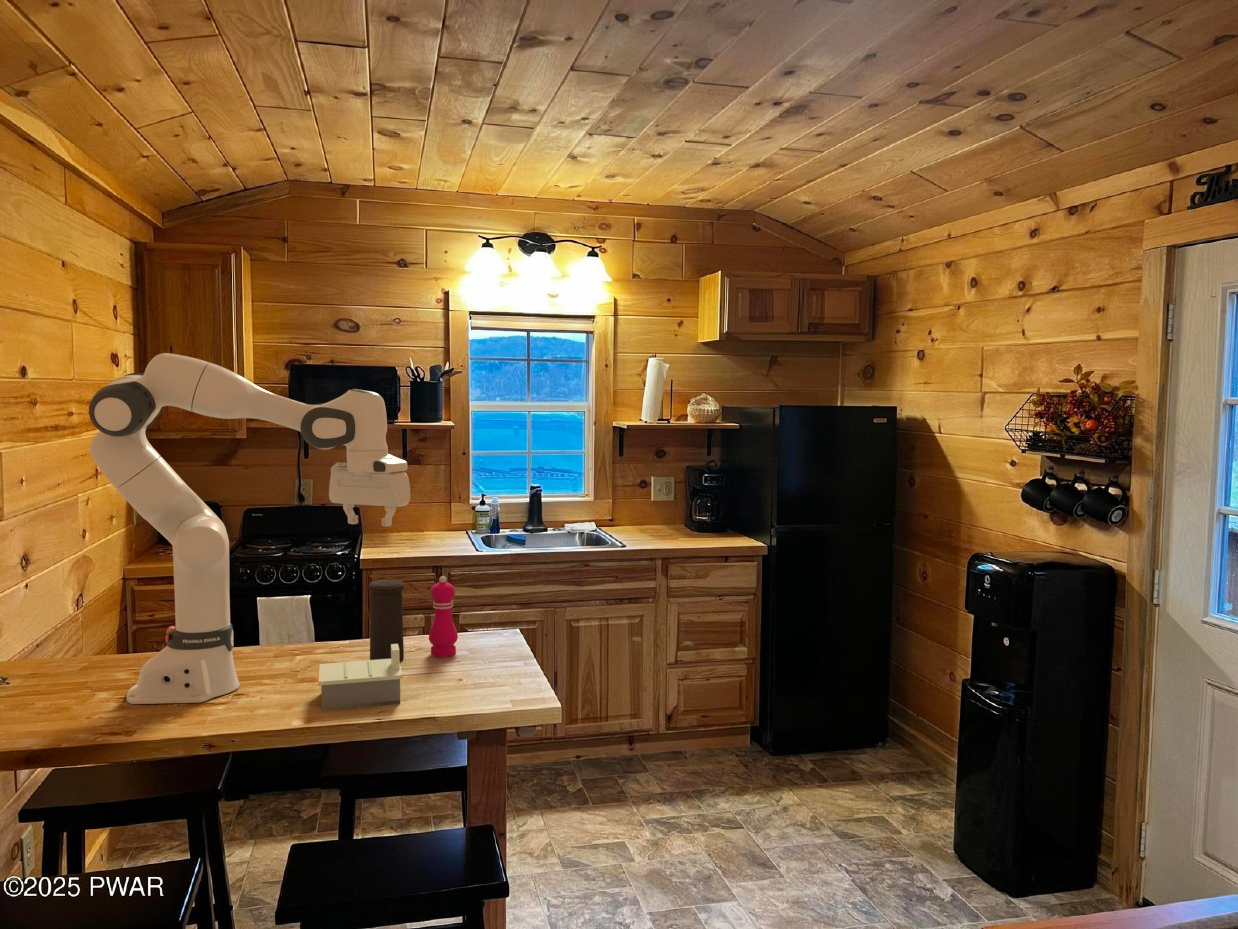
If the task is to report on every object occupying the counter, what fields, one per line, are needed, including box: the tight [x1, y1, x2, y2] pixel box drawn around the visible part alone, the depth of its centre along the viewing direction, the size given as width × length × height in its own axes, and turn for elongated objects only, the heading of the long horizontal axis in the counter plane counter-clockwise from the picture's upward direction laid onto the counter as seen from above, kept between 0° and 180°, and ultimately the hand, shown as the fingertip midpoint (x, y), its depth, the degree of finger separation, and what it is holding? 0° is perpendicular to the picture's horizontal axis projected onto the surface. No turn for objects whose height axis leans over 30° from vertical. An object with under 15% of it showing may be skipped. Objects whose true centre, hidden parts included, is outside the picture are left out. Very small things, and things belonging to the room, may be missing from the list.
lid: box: [318, 644, 404, 687], centre depth 200 cm, size 17×13×6 cm
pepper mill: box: [428, 575, 459, 658], centre depth 234 cm, size 7×7×20 cm
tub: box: [320, 679, 401, 711], centre depth 201 cm, size 16×12×6 cm
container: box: [367, 579, 405, 663], centre depth 228 cm, size 9×9×20 cm
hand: (369, 524), depth 205 cm, fingers open, 8 cm apart
